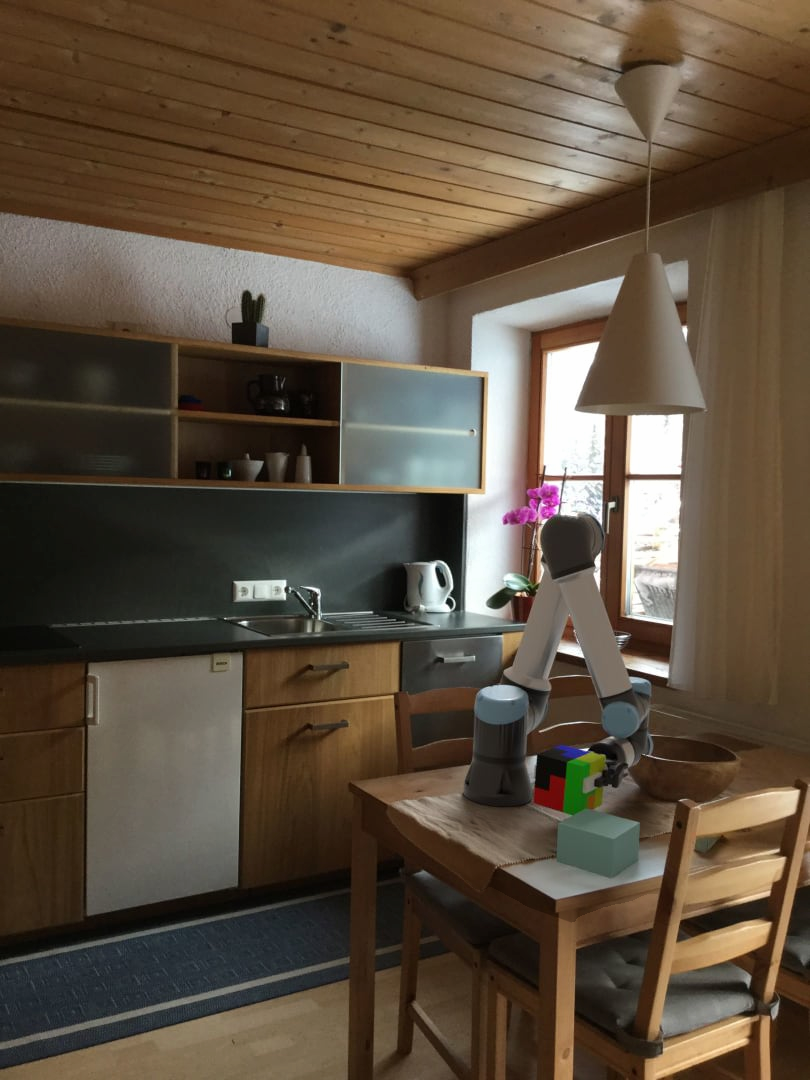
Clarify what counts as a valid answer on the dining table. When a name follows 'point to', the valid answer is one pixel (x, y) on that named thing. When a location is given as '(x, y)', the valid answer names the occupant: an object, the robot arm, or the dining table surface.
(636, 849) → the base brick
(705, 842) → the medication box
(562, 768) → the puzzle toy
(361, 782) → the dining table surface
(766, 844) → the dining table surface
